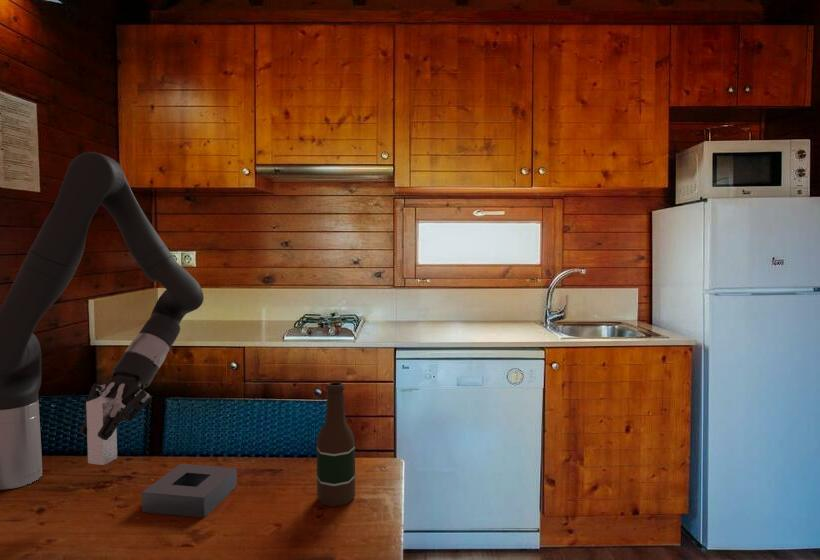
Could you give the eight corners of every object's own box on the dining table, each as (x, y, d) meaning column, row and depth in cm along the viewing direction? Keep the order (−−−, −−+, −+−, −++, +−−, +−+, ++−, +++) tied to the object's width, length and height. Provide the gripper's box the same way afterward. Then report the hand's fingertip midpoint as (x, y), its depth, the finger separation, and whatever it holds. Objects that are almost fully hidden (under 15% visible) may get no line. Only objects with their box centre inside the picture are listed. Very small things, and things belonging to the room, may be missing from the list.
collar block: (142, 511, 104) (141, 492, 104) (181, 481, 117) (180, 463, 117) (204, 517, 102) (203, 497, 102) (236, 486, 115) (236, 468, 115)
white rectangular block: (88, 463, 103) (86, 402, 102) (101, 455, 106) (100, 396, 105) (104, 465, 102) (102, 403, 101) (117, 457, 106) (115, 398, 105)
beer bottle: (309, 498, 110) (307, 383, 108) (338, 485, 115) (338, 376, 113) (333, 512, 105) (332, 391, 102) (363, 497, 110) (362, 383, 108)
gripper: (105, 346, 112) (51, 422, 101) (159, 353, 107) (109, 433, 97) (126, 366, 117) (77, 439, 107) (179, 373, 113) (133, 450, 102)
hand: (93, 436), depth 102 cm, fingers closed on white rectangular block, 4 cm apart
